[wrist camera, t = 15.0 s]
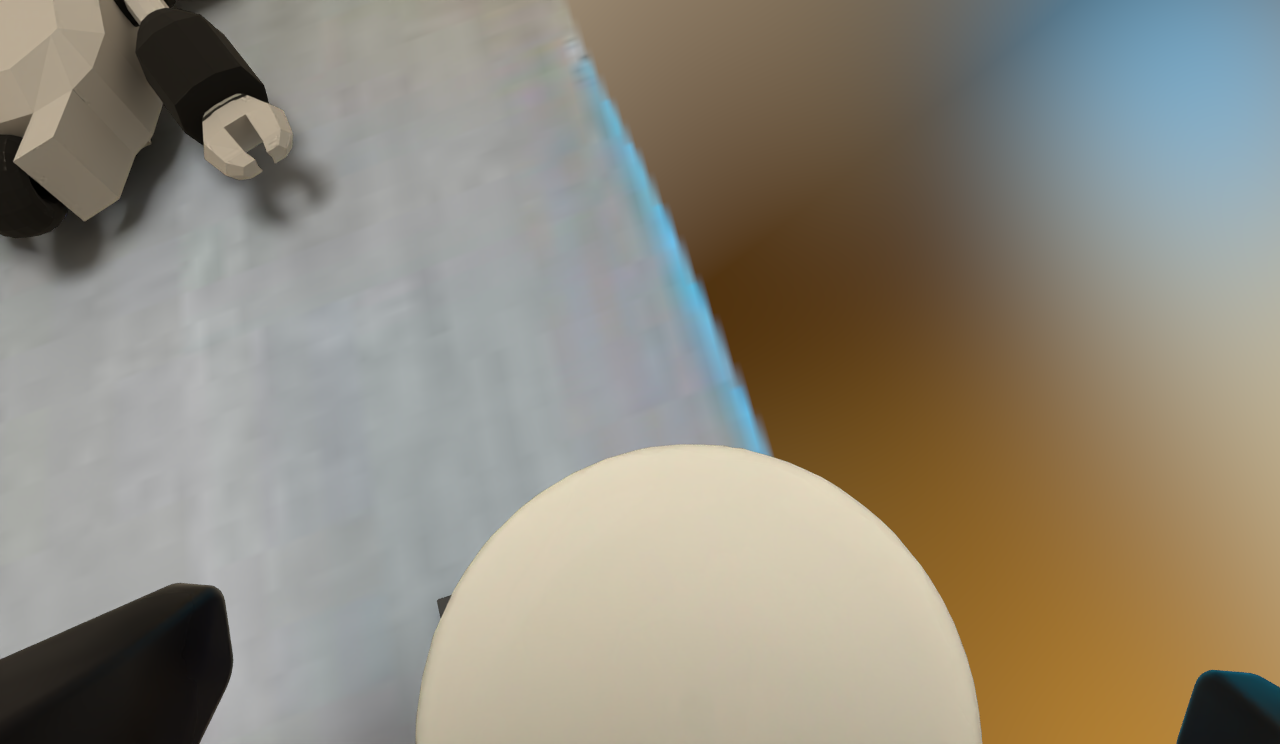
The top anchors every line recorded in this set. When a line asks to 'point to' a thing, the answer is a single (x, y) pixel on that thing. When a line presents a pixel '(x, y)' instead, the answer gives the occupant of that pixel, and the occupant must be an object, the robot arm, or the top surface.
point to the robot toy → (115, 102)
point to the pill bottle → (696, 617)
